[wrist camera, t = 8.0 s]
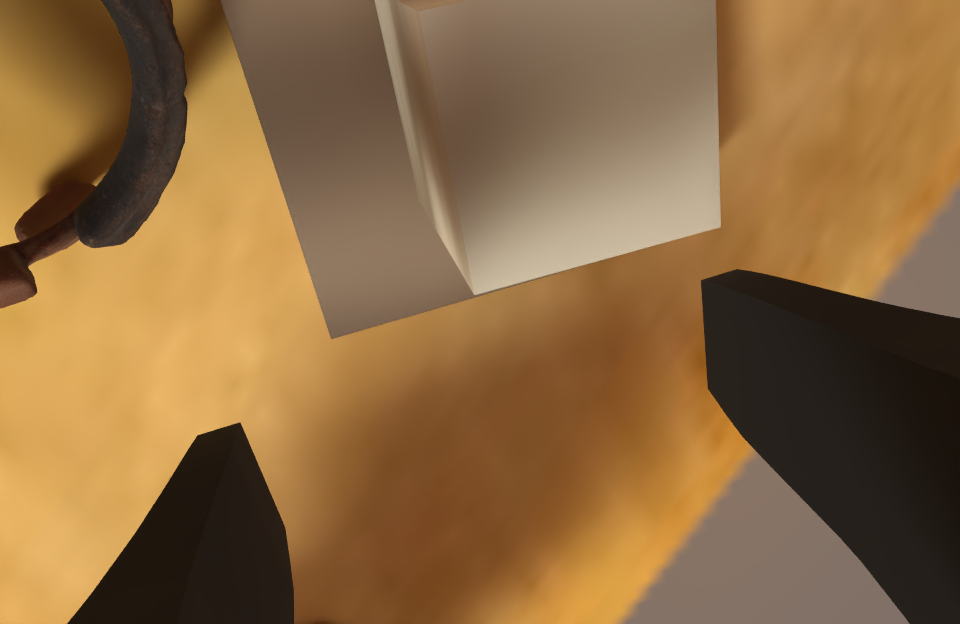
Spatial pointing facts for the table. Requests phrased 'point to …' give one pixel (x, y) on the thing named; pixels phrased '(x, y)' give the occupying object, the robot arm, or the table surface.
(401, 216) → the grey flat square block
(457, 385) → the table surface
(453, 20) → the maple cube
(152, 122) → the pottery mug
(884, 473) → the robot arm
